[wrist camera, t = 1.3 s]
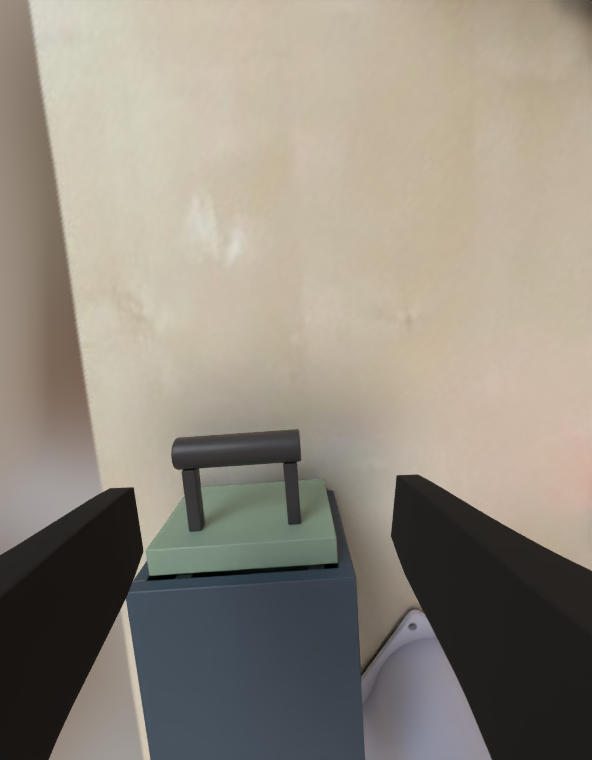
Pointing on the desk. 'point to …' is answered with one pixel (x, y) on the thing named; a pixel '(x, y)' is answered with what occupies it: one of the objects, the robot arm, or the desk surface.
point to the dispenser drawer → (244, 512)
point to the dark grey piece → (251, 663)
